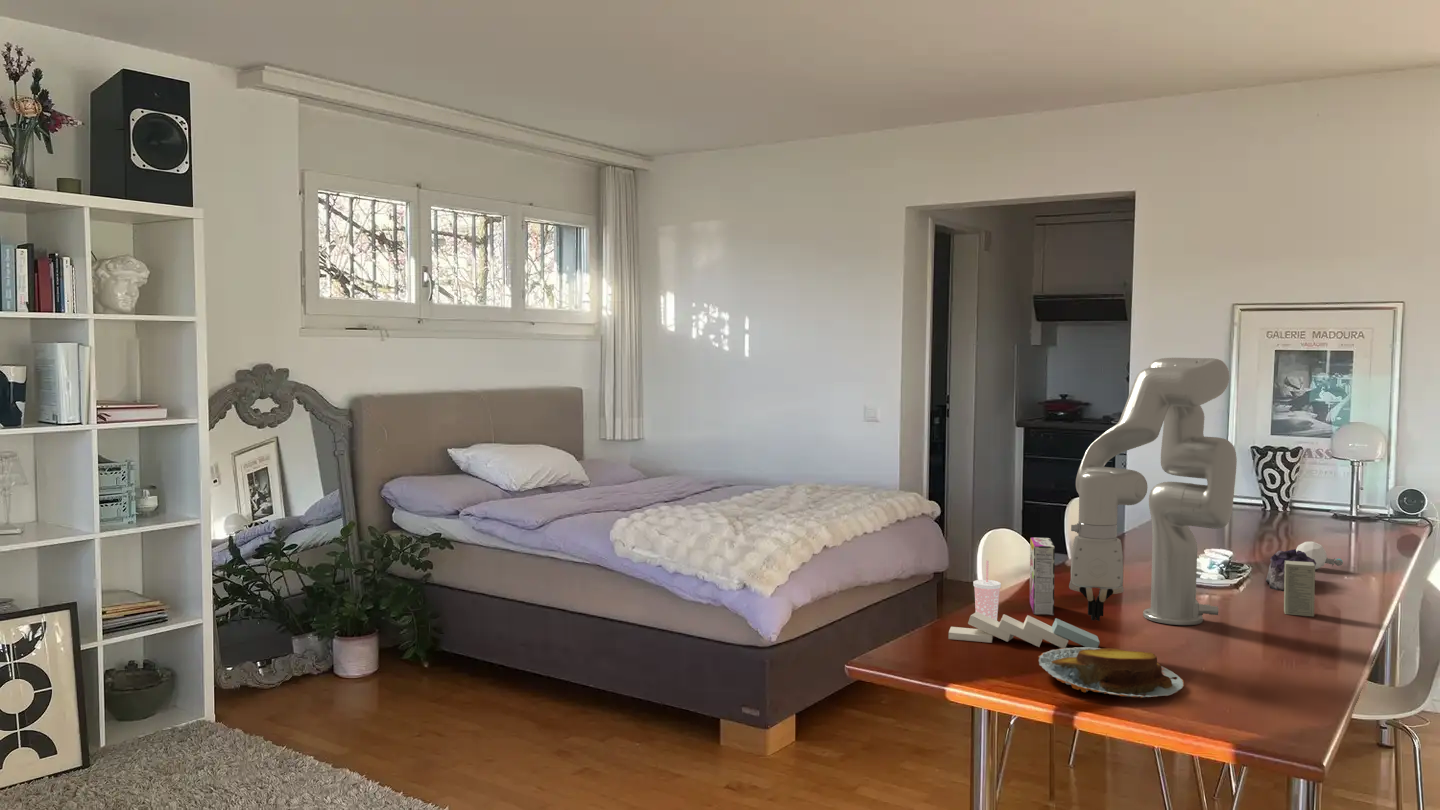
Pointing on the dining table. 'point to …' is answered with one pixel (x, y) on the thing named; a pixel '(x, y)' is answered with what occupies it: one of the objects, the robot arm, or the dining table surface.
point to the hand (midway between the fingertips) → (1095, 618)
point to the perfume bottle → (1317, 554)
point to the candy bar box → (1042, 576)
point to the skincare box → (1299, 588)
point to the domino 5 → (1075, 634)
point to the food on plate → (1111, 671)
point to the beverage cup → (987, 596)
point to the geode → (1283, 566)
